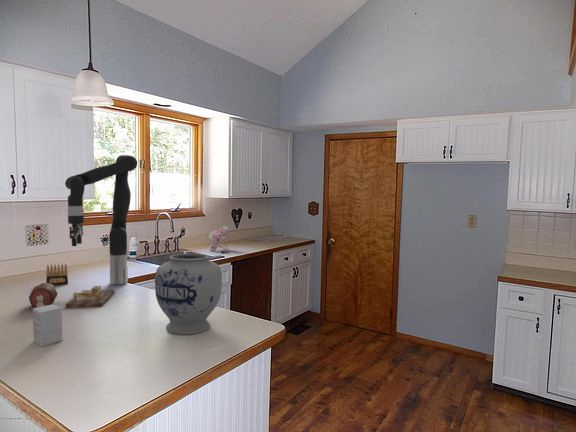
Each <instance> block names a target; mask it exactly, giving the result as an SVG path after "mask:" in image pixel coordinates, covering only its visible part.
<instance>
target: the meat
mask: <svg viewBox="0 0 576 432" xmlns="http://www.w3.org/2000/svg"><path fill="white" fill-rule="evenodd" d="M57 296H58V292H57V289H56V286H55V285H52V284H50V283H46V282H42V283H39V284H38V285H36V286H34V287H32V290H31V292H30V294H29V296H28V299H29V303H30V305H31V308H32V309H33V308H37V307H42V306H47V305H52V304H54V302H55V300H56V299H57Z"/></svg>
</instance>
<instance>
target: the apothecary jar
mask: <svg viewBox="0 0 576 432" xmlns="http://www.w3.org/2000/svg"><path fill="white" fill-rule="evenodd" d="M168 258H169V259H170V260H169V261H166V262H163V263H162V264H160V265H159V266H158V267H157V268H156V271H155V277H154V278H155V279H154V288H155V297H156V301H157V304H158V306H159V307H160V310H161V311H162V312H163V313H164V315H165V316H166V317H167V319H168V320H169V322H168V323H167V325H166V326H165V328H166V330H167V331H168V332H169V333H171V334H174V335H178V336H179V335H181V336H182V335H183V336H187V335H189V336H190V335H196V334H201V333H203V332H206V331H207V330H208V329H209V328H210V327H211V323H210V321H208V320H207V319H208V317H209V316H210V314H211V313H212V312H213V311H214V310H215V308H216V307H217V306H218V303H219V302H220V298H221V293H222V288H223V279H222V269H221V267H220V265H219V264H218V263H216V262H213V261H211V260H209V259H210V256H209V255H208V254H206V253H205V254H204V253H176V254H172V255H169V257H168Z"/></svg>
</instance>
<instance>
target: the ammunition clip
mask: <svg viewBox="0 0 576 432" xmlns="http://www.w3.org/2000/svg"><path fill="white" fill-rule="evenodd" d="M45 273H46V276H45V277H46V282H45V283H50V284H52V285H54V286H60V285H61V286H63V285H68V284H69V277H68V275H69V274H68V264H67V263H65V264H63V263H61V266H60V263H58V264H57V265H56V263H54V265H53V264H52V263H51V264H50V266H49V264H47V265H46V272H45Z"/></svg>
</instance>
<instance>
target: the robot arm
mask: <svg viewBox="0 0 576 432" xmlns="http://www.w3.org/2000/svg"><path fill="white" fill-rule="evenodd" d="M137 167H138V161H137V159H136V157H134V156H133V155H130V154H126V155H125V154H121V155H118V157H117V158H116V160H115V162H113V163H111V164H106V165H103V166H98V167H95V168H92V169H90V170H87V171H85V172H82V173H79V174H75V175H72V176H69V177H67V178H66V180H65V183H64V185H65V187H66V188H67V189H68V190H70V194H69V195H68V197H67V224H68V225H71V226H69V239H71V246H72V247H76V246H77V245H81V244H83V241H82V240H83V239H82V237H83V235H84V230H83V227H84V226H83V225H84V223H85V214H84V213H85V212H84V211H85V209H84V201H83V200H84V198H83V197H84V193H85V187H86V185H93V184H96V183H98V182H100V181H103V180H105V179H108V178H110V177H113V176H115V180H114V190H113V199H112V223H111V227H110V229H109V230H110V231H109V234H108V235H109V239H108V241H109V285H112V286H119V285H121V286H122V285H127V283H128V282H129V281H128V279H129V275H128V274H129V271H128V270H129V266H128V263H127V262H128V257H127V256H128V234H127V217H128V214H129V210H130V205H131V196H132V195H131V193H132V192H131V188H130V186H129V181H128V179H129V178H128V177H129V172H133V171H134V170H136V168H137Z"/></svg>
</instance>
